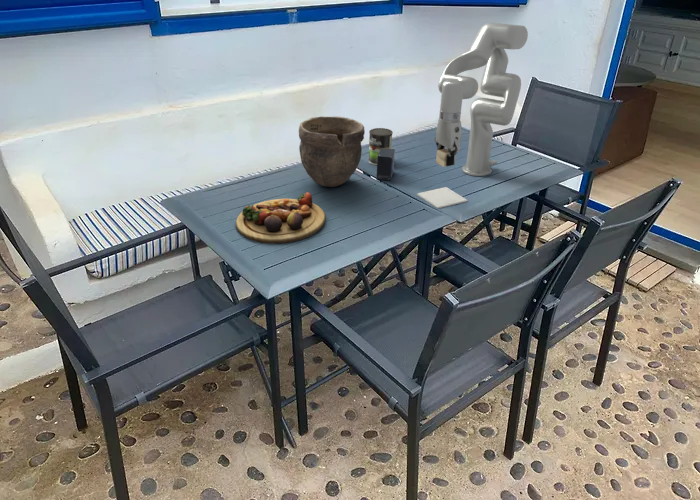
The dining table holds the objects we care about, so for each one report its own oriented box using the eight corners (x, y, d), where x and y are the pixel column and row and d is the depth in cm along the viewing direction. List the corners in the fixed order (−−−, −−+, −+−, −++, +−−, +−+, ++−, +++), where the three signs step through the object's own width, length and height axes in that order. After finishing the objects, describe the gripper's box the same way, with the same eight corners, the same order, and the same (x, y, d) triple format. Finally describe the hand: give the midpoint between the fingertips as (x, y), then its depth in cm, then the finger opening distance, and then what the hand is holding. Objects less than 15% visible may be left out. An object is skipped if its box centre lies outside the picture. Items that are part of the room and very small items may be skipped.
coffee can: (381, 167, 242) (382, 136, 235) (363, 161, 248) (364, 131, 240) (395, 161, 248) (397, 131, 241) (378, 155, 254) (379, 126, 247)
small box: (391, 180, 229) (392, 157, 224) (375, 179, 230) (376, 156, 225) (394, 171, 238) (395, 148, 233) (379, 170, 239) (380, 147, 234)
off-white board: (445, 188, 222) (446, 186, 222) (467, 201, 212) (467, 200, 212) (417, 194, 217) (417, 193, 217) (437, 208, 206) (437, 207, 206)
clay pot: (375, 187, 223) (377, 127, 210) (320, 201, 211) (318, 139, 199) (342, 166, 242) (342, 111, 230) (290, 178, 231) (286, 120, 218)
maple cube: (446, 160, 210) (447, 148, 207) (454, 164, 206) (455, 152, 204) (435, 162, 208) (436, 150, 205) (443, 167, 204) (444, 154, 202)
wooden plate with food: (299, 196, 216) (298, 177, 211) (342, 228, 192) (341, 207, 188) (223, 218, 201) (219, 197, 197) (258, 254, 178) (256, 232, 174)
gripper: (473, 120, 193) (467, 168, 202) (444, 108, 206) (440, 154, 215) (455, 123, 190) (450, 172, 199) (427, 110, 203) (424, 157, 212)
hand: (445, 162), depth 207 cm, fingers closed on maple cube, 4 cm apart
